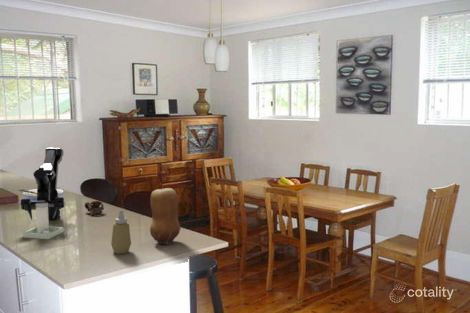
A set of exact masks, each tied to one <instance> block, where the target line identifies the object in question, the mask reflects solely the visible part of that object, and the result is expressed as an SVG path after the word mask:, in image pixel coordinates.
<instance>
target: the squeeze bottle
mask: <svg viewBox="0 0 470 313" xmlns="http://www.w3.org/2000/svg"><path fill="white" fill-rule="evenodd" d="M114 220H115V222H114V223H113V225H112V232H111V233H112V235H111V243H110V244H111V248H112V250H113V253H115V254H116V255H117V254H118V255H124V254H127V253H128V252H129V251H130V248H131V245H132V242H131V231H130V224H129V222H128V218H127V217H125V215H124V211H123V209H119V211H118V215H117V217H116V218H115V219H114Z"/></svg>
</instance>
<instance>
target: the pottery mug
mask: <svg viewBox="0 0 470 313" xmlns="http://www.w3.org/2000/svg"><path fill="white" fill-rule="evenodd" d="M104 206H105V205H104V203H103V202H102V201H100V200H92V201H91V202H85V203H84V207H85V209H86V210H87V211H88V212H89V215H90V216H93V215H94V214H98V213H101V212H102V211H104V210H105V207H104Z"/></svg>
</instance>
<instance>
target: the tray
mask: <svg viewBox="0 0 470 313" xmlns="http://www.w3.org/2000/svg"><path fill="white" fill-rule="evenodd" d="M49 232H50V233H49V234H38V233H37V226H35V227H33V228H31V229H28V230H27V231H24V232H22V238H28V239H38V240H39V239H41V240H50V239H51V238H52V239H53V237H56V236H58V235H60V234H62V233H63V232H64V227H62V226H61V227H60V226H49Z"/></svg>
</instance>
